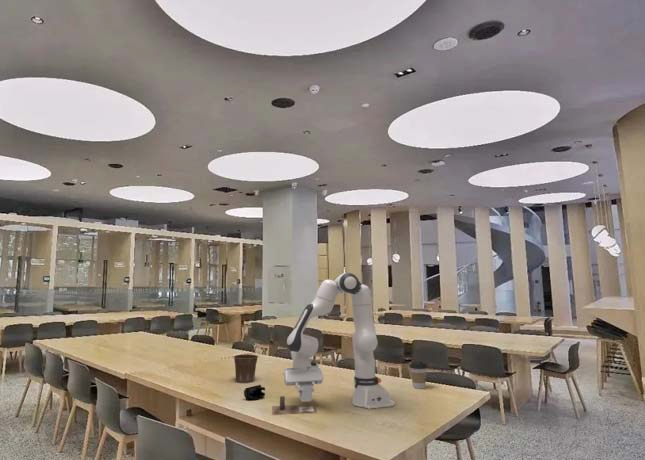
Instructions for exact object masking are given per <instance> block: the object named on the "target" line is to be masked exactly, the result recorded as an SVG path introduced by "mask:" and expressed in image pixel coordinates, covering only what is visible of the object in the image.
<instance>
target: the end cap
mask: <svg viewBox="0 0 645 460" xmlns="http://www.w3.org/2000/svg"><path fill="white" fill-rule="evenodd" d="M264 391H266V387H264V386H262V385H261V384H258V385H254V386H250V387H247V388H245V389H244V391H243V396H244V398H245V399H246V401H249V402H255V401H260V400H264V399H265V396H266V393H265V392H264Z"/></svg>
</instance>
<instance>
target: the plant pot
mask: <svg viewBox="0 0 645 460" xmlns="http://www.w3.org/2000/svg"><path fill="white" fill-rule="evenodd" d="M258 358H259V355H257V354H249V353H248V354H238V355H234V356H233V359H234V366H235V368H234V369H235V381H236V382H237V383H239V382H240V384H247V383H252V382H254V381H255V376H256V369H257V368H256V366H257V362H258Z"/></svg>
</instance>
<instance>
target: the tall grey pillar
mask: <svg viewBox="0 0 645 460" xmlns="http://www.w3.org/2000/svg"><path fill="white" fill-rule="evenodd" d="M299 387H300V388H301V390H302V391H301V392H299V400H300V401H301V402H302V403H303V402H304V403H305V402H312V401H313V400H312V399H313V392H312V385H311V384H310V383H304V384H300V385H299Z"/></svg>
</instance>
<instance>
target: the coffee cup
mask: <svg viewBox="0 0 645 460" xmlns="http://www.w3.org/2000/svg"><path fill="white" fill-rule="evenodd" d="M408 368H410V374H411V381H412V382H411V383H412V387H413V389H417V390H425V389H426V385H427V374H428V365H427V363H426V362H425V361H411V362H410V364H409V365H408Z"/></svg>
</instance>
